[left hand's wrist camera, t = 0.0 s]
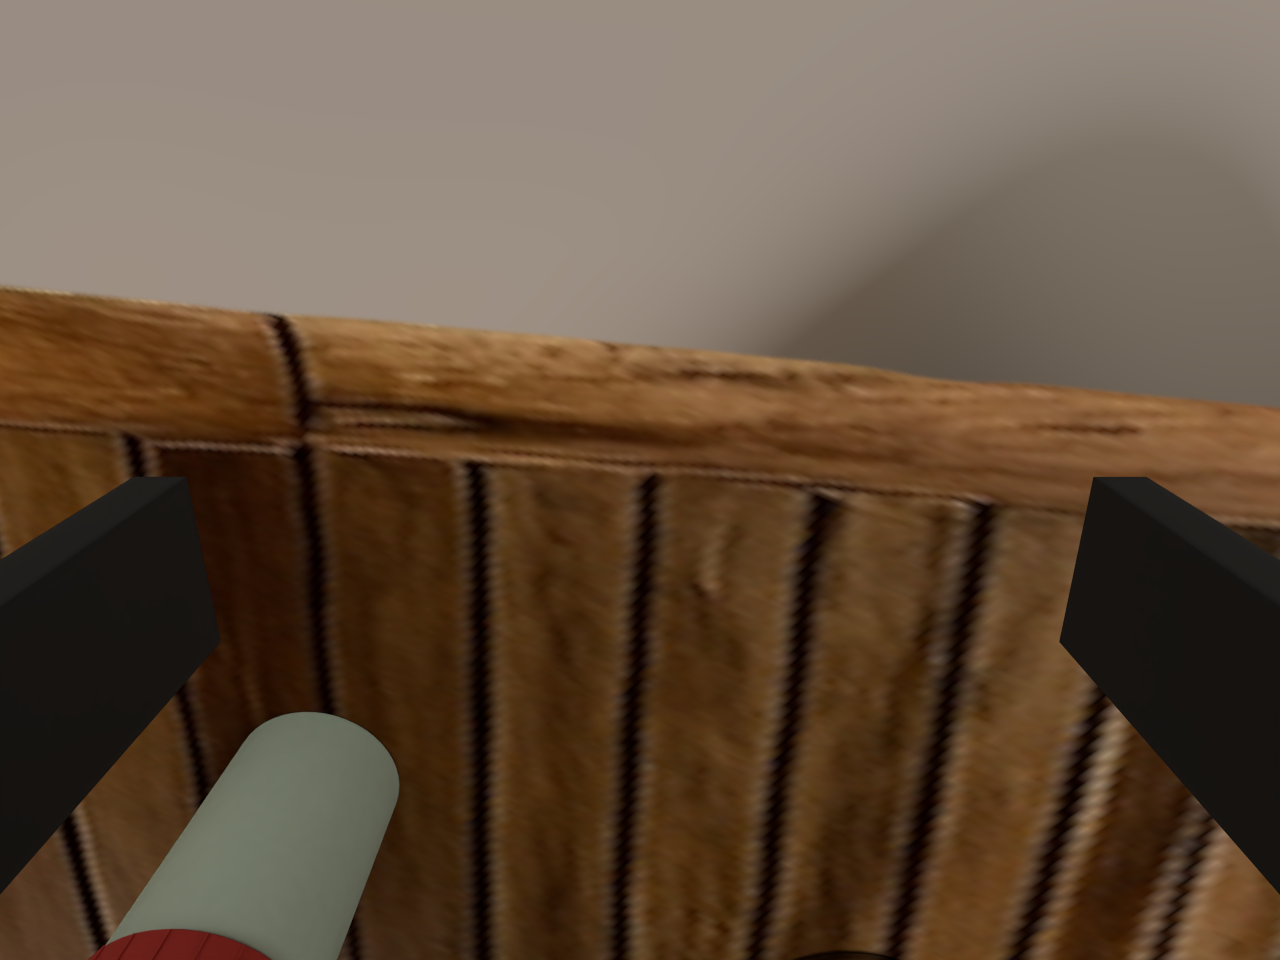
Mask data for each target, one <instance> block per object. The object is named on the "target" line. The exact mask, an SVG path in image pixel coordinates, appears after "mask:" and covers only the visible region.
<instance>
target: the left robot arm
mask: <svg viewBox="0 0 1280 960" xmlns="http://www.w3.org/2000/svg"><path fill="white" fill-rule="evenodd" d="M220 642H221V641H220V636H219V632H218V627H217V622H216V617H215V612H214V607H213V603H212V598H211V593H210V588H209V583H208V579H207V574H206V569H205V564H204V559H203V554H202V550H201V545H200V540H199V535H198V530H197V526H196V521H195V516H194V511H193V506H192V501H191V497H190V492H189V487H188V482H187V477H133V478H131V479H129V480H128V481H126V482H125V483H123V484H121V485H120V486H118V487H117V488H115V489H113V490H112V491H110V492H109V493H107V494H105V495H104V496H102V497H101V498H99V499H97V500H96V501H94V502H93V503H91V504H89V505H88V506H86V507H85V508H83V509H81V510H80V511H78V512H77V513H75V514H73V515H72V516H70V517H69V518H67V519H65V520H64V521H62V522H61V523H59V524H57V525H56V526H54V527H53V528H51V529H49V530H48V531H46V532H44V533H43V534H41V535H40V536H38V537H36V538H35V539H33V540H32V541H30V542H28V543H27V544H25V545H24V546H22V547H20V548H19V549H17V550H16V551H14V552H12V553H11V554H9V555H8V556H6V557H4V558H3V559H1V560H0V894H1V893H2V892H3V891H4V889H5V888H6V887H7V886H8V885H9V884H10V883H11V881H12V880H13V879H14V878H15V877H16V876H17V875H18V873H19V872H20V871H21V870H22V869H23V868H24V867H25V865H26V864H27V863H28V862H29V861H30V860H31V859H32V857H33V856H34V855H35V854H36V853H37V852H38V851H39V849H40V848H41V847H42V846H43V845H44V844H45V843H46V841H47V840H48V839H49V838H50V837H51V836H52V834H53V833H54V832H55V831H56V830H57V829H58V828H59V826H60V825H61V824H62V823H63V822H64V821H65V820H66V818H67V817H68V816H69V815H70V814H71V813H72V812H73V810H74V809H75V808H76V807H77V806H78V805H79V804H80V802H81V801H82V800H83V799H84V798H85V797H86V796H87V794H88V793H89V792H90V791H91V790H92V789H93V787H94V786H95V785H96V784H97V783H98V782H99V781H100V779H101V778H102V777H103V776H104V775H105V774H106V773H107V771H108V770H109V769H110V768H111V767H112V766H113V765H114V763H115V762H116V761H117V760H118V759H119V758H120V757H121V755H122V754H123V753H124V752H125V751H126V750H127V749H128V747H129V746H130V745H131V744H132V743H133V742H134V741H135V739H136V738H137V737H138V736H139V735H140V734H141V732H142V731H143V730H144V729H145V728H146V727H147V726H148V724H149V723H150V722H151V721H152V720H153V719H154V718H155V716H156V715H157V714H158V713H159V712H160V711H161V710H162V708H163V707H164V706H165V705H166V704H167V703H168V702H169V700H170V699H171V698H172V697H173V696H174V695H175V694H176V692H177V691H178V690H179V689H180V688H181V687H182V686H183V684H184V683H185V682H186V681H187V680H188V679H189V677H190V676H191V675H192V674H193V673H194V672H195V671H196V669H197V668H198V667H199V666H200V665H201V664H202V663H203V661H204V660H205V659H206V658H207V657H208V656H209V655H210V653H211V652H212V651H213V650H214V649H215V648H216V647H217V645H218V644H219V643H220ZM1059 642H1060V643H1061V644H1062V645H1063V647H1064V648H1065V649H1066V650H1067V651H1068V652H1069V653H1070V655H1071V656H1072V657H1073V658H1074V659H1075V660H1076V661H1077V663H1078V664H1079V665H1080V666H1081V667H1082V668H1083V669H1084V671H1085V672H1086V673H1087V674H1088V675H1089V676H1090V677H1091V679H1092V680H1093V681H1094V682H1095V683H1096V684H1097V686H1098V687H1099V688H1100V689H1101V690H1102V691H1103V692H1104V694H1105V695H1106V696H1107V697H1108V698H1109V699H1110V700H1111V702H1112V703H1113V704H1114V705H1115V706H1116V707H1117V708H1118V710H1119V711H1120V712H1121V713H1122V714H1123V715H1124V716H1125V718H1126V719H1127V720H1128V721H1129V722H1130V723H1131V724H1132V726H1133V727H1134V728H1135V729H1136V730H1137V731H1138V732H1139V734H1140V735H1141V736H1142V737H1143V738H1144V739H1145V741H1146V742H1147V743H1148V744H1149V745H1150V746H1151V747H1152V749H1153V750H1154V751H1155V752H1156V753H1157V754H1158V755H1159V757H1160V758H1161V759H1162V760H1163V761H1164V762H1165V763H1166V765H1167V766H1168V767H1169V768H1170V769H1171V770H1172V771H1173V773H1174V774H1175V775H1176V776H1177V777H1178V778H1179V779H1180V781H1181V782H1182V783H1183V784H1184V785H1185V786H1186V788H1187V789H1188V790H1189V791H1190V792H1191V793H1192V794H1193V796H1194V797H1195V798H1196V799H1197V800H1198V801H1199V802H1200V804H1201V805H1202V806H1203V807H1204V808H1205V809H1206V810H1207V812H1208V813H1209V814H1210V815H1211V816H1212V817H1213V818H1214V820H1215V821H1216V822H1217V823H1218V824H1219V825H1220V826H1221V828H1222V829H1223V830H1224V831H1225V832H1226V833H1227V834H1228V836H1229V837H1230V838H1231V839H1232V840H1233V841H1234V843H1235V844H1236V845H1237V846H1238V847H1239V848H1240V849H1241V851H1242V852H1243V853H1244V854H1245V855H1246V856H1247V857H1248V859H1249V860H1250V861H1251V862H1252V863H1253V864H1254V865H1255V867H1256V868H1257V869H1258V870H1259V871H1260V872H1261V873H1262V875H1263V876H1264V877H1265V878H1266V879H1267V880H1268V881H1269V883H1270V884H1271V885H1272V886H1273V887H1274V888H1275V889H1276V891H1277V892H1278V893H1279V894H1280V560H1279V559H1277V558H1276V557H1274V556H1272V555H1271V554H1269V553H1268V552H1266V551H1264V550H1263V549H1261V548H1260V547H1258V546H1256V545H1255V544H1253V543H1252V542H1250V541H1248V540H1247V539H1245V538H1244V537H1242V536H1240V535H1239V534H1237V533H1236V532H1234V531H1232V530H1231V529H1229V528H1227V527H1226V526H1224V525H1223V524H1221V523H1219V522H1218V521H1216V520H1215V519H1213V518H1211V517H1210V516H1208V515H1207V514H1205V513H1203V512H1202V511H1200V510H1199V509H1197V508H1195V507H1194V506H1192V505H1191V504H1189V503H1187V502H1186V501H1184V500H1183V499H1181V498H1179V497H1178V496H1176V495H1175V494H1173V493H1171V492H1170V491H1168V490H1167V489H1165V488H1163V487H1162V486H1160V485H1159V484H1157V483H1155V482H1154V481H1152V480H1151V479H1149V478H1147V477H1093V482H1092V487H1091V492H1090V497H1089V501H1088V506H1087V511H1086V516H1085V521H1084V526H1083V530H1082V535H1081V540H1080V545H1079V550H1078V554H1077V559H1076V564H1075V569H1074V574H1073V579H1072V583H1071V588H1070V593H1069V598H1068V603H1067V607H1066V612H1065V617H1064V622H1063V627H1062V632H1061V636H1060V641H1059ZM805 960H893V959H889V958H885V957H881V956H875V955H869V954H856V953H843V954H830V955H823V956H817V957H812V958H808V959H805Z"/></svg>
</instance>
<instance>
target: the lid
mask: <svg viewBox="0 0 1280 960" xmlns="http://www.w3.org/2000/svg"><path fill="white" fill-rule="evenodd" d="M88 960H271V959H270V958H268V957H267V956H265V955H264V954H262V953H261V952H259V951H257V950H255V949H253V948H251V947H249V946H247V945H245V944H242V943H240V942H237V941H235V940H232V939H229V938H226V937H223V936H220V935H216V934H212V933H207V932H202V931H195V930H186V929H158V930H149V931H144V932H138V933H133V934H131V935H128V936H125V937H122V938H120V939H117V940H115V941H113V942H111V943H109V944H107V945H106V946H105V945H103V946H102V947H101V949H100V950H98V951H97V952H96V953H95V954H94V955H93V956H91V957H90V958H89V959H88Z"/></svg>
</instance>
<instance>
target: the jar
mask: <svg viewBox="0 0 1280 960" xmlns="http://www.w3.org/2000/svg"><path fill="white" fill-rule="evenodd" d="M398 795H399V777H398V773H397V769H396V766H395V764H394V761H393V759H392V757H391V756H390V754H389V752H388V751H387V750H386V748H385V747H384V746H383V745H382V743H381V742H380V741H378V740H377V739H376V738H375V737H374V736H373V735H372V734H371V733H369V732H368V731H367V730H365V729H364V728H362V727H360V726H359V725H357V724H355V723H353V722H351V721H349V720H346V719H343V718H340V717H338V716H334V715H330V714H325V713H317V712H298V713H290V714H286V715H282V716H279V717H276V718H273V719H271V720H269V721H267V722H265V723H263V724H262V725H260V726H259V727H258V728H256V729H255V730H254V731H253V732H252V733H251V734H250V735H249V736H248V737H247V739H246V740H245V741H244V743H243V744H242V746H241V747H240V749H239V750H238V752H237V753H236V755H235V756H234V757H233V759H232V760H231V762H230V763H229V765H228V766H227V768H226V769H225V771H224V772H223V774H222V775H221V777H220V778H219V779H218V781H217V782H216V784H215V785H214V787H213V788H212V790H211V791H210V793H209V794H208V796H207V797H206V799H205V800H204V801H203V803H202V804H201V806H200V807H199V809H198V810H197V812H196V813H195V815H194V816H193V818H192V819H191V821H190V822H189V823H188V825H187V826H186V828H185V829H184V831H183V832H182V834H181V835H180V837H179V838H178V840H177V841H176V843H175V844H174V845H173V847H172V848H171V850H170V851H169V853H168V854H167V856H166V857H165V859H164V860H163V862H162V863H161V865H160V866H159V867H158V869H157V870H156V872H155V873H154V875H153V876H152V878H151V879H150V881H149V882H148V884H147V885H146V887H145V888H144V889H143V891H142V892H141V894H140V895H139V897H138V898H137V900H136V901H135V903H134V904H133V906H132V907H131V909H130V910H129V911H128V913H127V914H126V916H125V917H124V919H123V920H122V922H121V923H120V925H119V926H118V928H117V929H116V931H115V932H114V934H113V935H112V936H111V938H110V939H109V941H108V942H107V944H109V943H111V942H113V941H115V940H117V939H120V938H122V937H125V936H128V935H131V934H133V933H138V932H144V931H149V930H158V929H186V930H195V931H202V932H207V933H212V934H216V935H220V936H223V937H226V938H229V939H232V940H235V941H237V942H240V943H242V944H245V945H247V946H249V947H251V948H253V949H255V950H257V951H259V952H261V953H262V954H264V955H265V956H267V957H268V958H270V959H271V960H337V958H338V955H339V953H340V950H341V948H342V945H343V942H344V940H345V937H346V934H347V932H348V929H349V926H350V924H351V921H352V919H353V916H354V913H355V911H356V908H357V905H358V903H359V900H360V897H361V895H362V892H363V890H364V887H365V884H366V882H367V879H368V876H369V874H370V871H371V869H372V866H373V863H374V861H375V858H376V855H377V853H378V850H379V847H380V845H381V842H382V840H383V837H384V834H385V832H386V829H387V826H388V824H389V821H390V818H391V816H392V813H393V811H394V808H395V805H396V803H397V799H398ZM107 944H106V945H107ZM106 945H105V946H106Z"/></svg>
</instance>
